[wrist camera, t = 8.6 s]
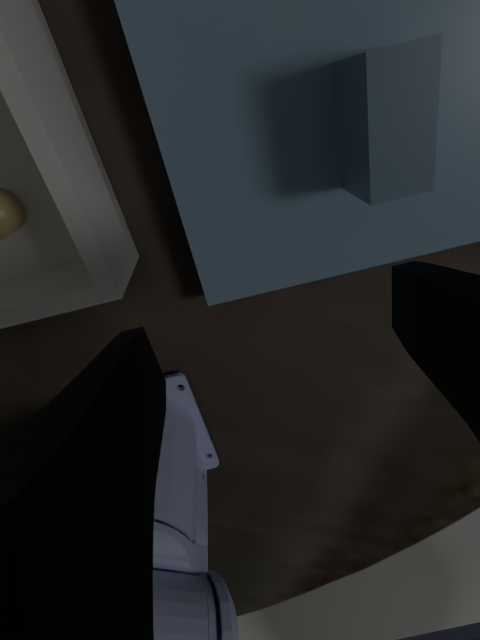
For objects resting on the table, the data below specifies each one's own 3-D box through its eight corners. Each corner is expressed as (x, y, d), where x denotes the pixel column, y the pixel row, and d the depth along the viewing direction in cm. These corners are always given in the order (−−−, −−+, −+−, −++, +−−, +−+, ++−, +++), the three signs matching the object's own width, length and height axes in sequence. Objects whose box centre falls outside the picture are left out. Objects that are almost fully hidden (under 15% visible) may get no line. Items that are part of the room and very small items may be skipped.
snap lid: (510, 216, 21) (600, 250, 16) (207, 289, 22) (209, 342, 17) (573, -145, 14) (765, -274, 9) (115, -19, 14) (72, -78, 10)
